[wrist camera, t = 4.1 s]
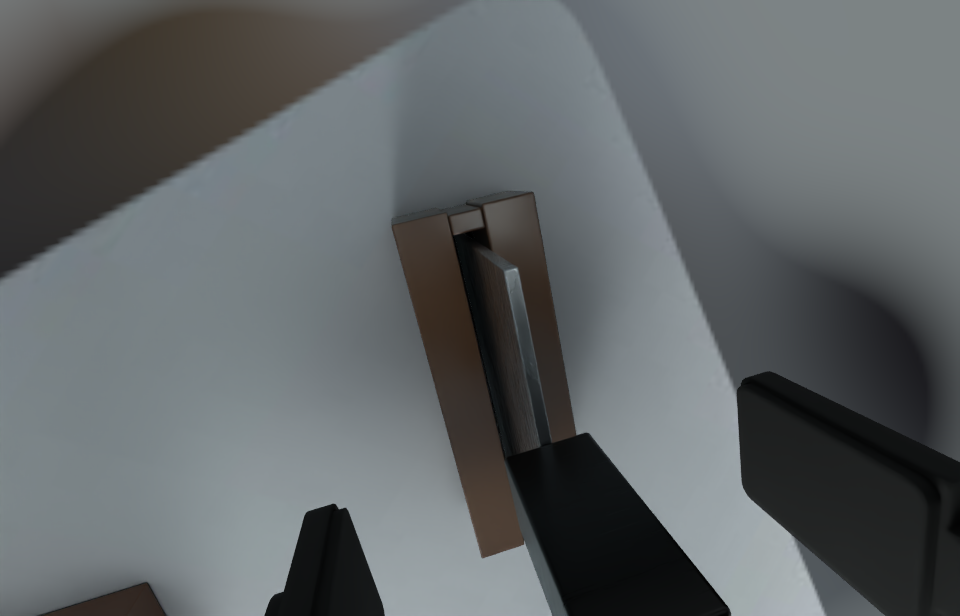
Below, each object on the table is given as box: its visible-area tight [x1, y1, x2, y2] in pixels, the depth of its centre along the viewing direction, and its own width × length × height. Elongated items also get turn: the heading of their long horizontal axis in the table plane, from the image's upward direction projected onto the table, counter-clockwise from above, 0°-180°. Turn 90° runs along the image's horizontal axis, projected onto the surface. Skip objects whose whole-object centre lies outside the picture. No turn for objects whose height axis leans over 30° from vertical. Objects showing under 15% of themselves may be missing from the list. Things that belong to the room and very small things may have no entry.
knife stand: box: [392, 191, 577, 558], centre depth 16 cm, size 12×4×3 cm, turn 12°
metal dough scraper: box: [454, 233, 731, 616], centre depth 12 cm, size 10×2×12 cm, turn 12°
